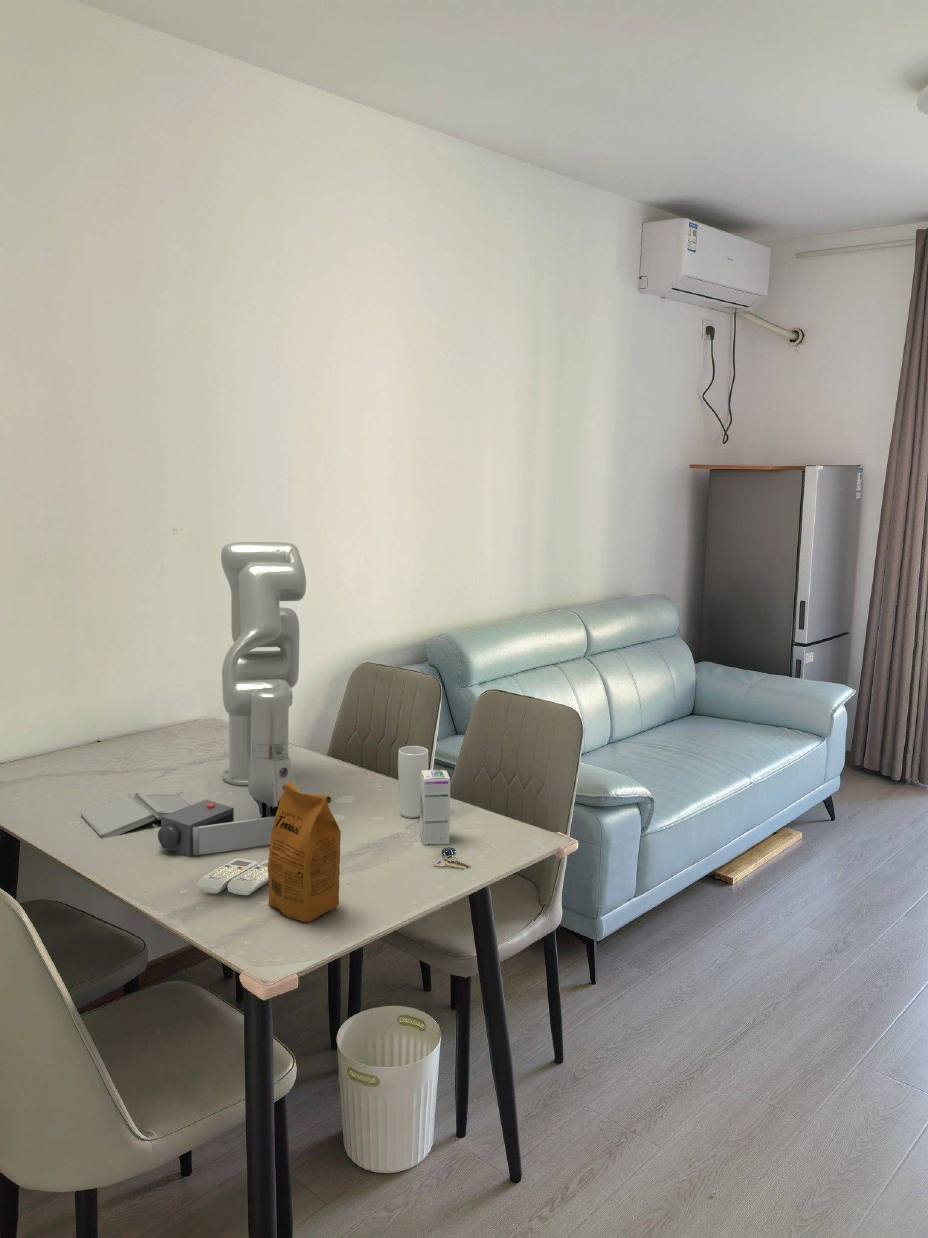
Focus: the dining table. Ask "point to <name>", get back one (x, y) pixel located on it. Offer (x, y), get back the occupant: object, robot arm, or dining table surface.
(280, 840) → the coffee package
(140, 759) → the dining table surface
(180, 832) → the gray box with knob
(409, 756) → the drinking glass
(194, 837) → the side door
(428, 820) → the syrup box
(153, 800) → the gadget
